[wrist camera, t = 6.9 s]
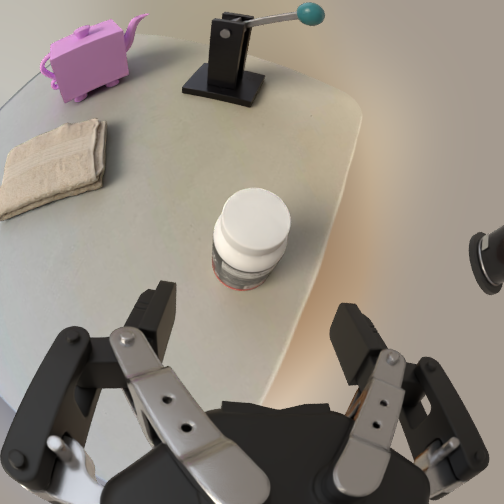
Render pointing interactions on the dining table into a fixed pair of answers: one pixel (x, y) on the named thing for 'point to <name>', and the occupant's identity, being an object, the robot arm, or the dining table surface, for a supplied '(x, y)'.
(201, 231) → the dining table surface
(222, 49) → the bracket
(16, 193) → the washcloth
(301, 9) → the lever with teal knob
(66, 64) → the teapot
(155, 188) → the dining table surface
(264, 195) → the pill bottle
